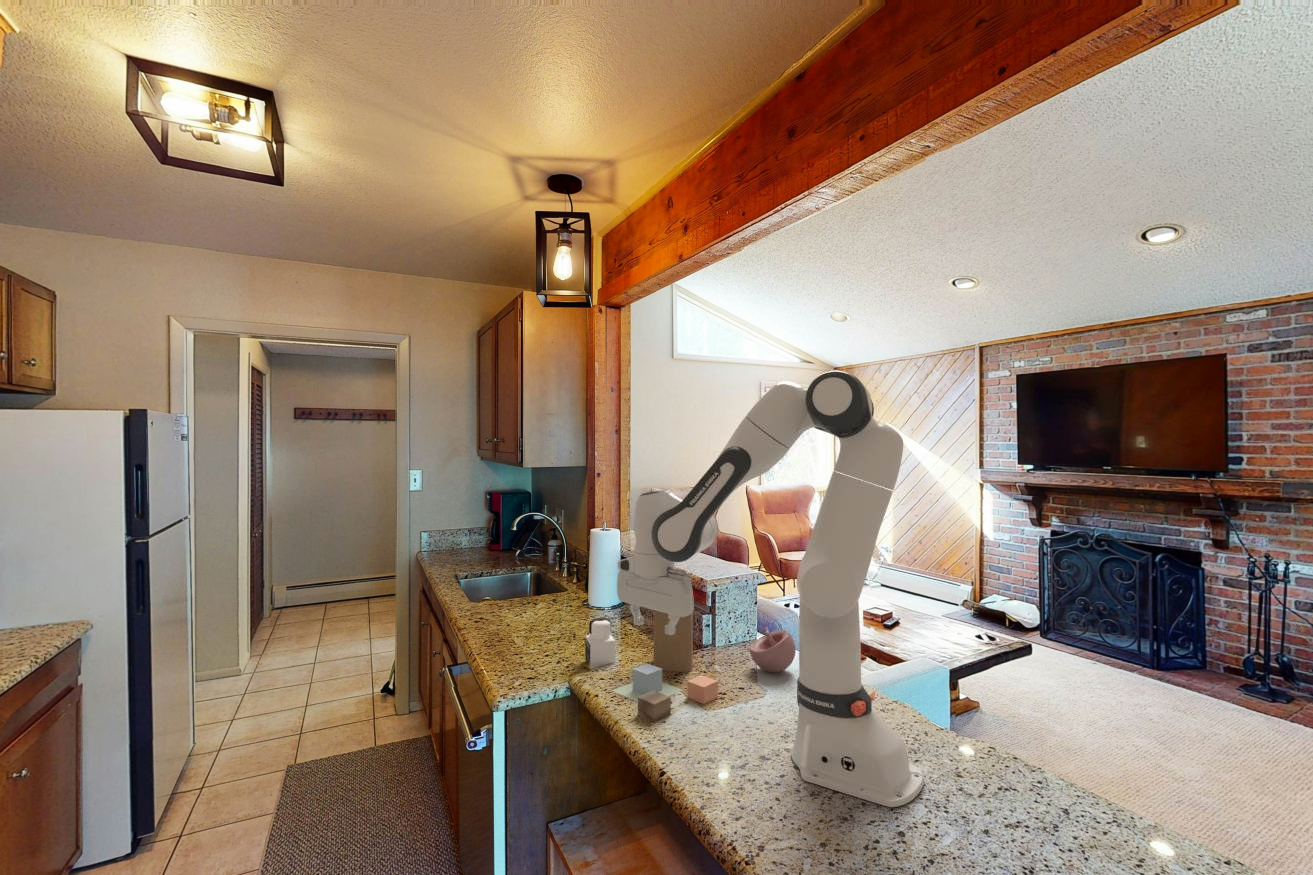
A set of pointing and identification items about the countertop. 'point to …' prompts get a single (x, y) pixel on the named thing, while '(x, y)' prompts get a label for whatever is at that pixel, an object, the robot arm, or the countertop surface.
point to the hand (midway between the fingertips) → (653, 629)
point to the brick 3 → (702, 689)
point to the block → (673, 643)
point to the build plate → (633, 695)
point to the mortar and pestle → (773, 650)
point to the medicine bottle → (599, 644)
